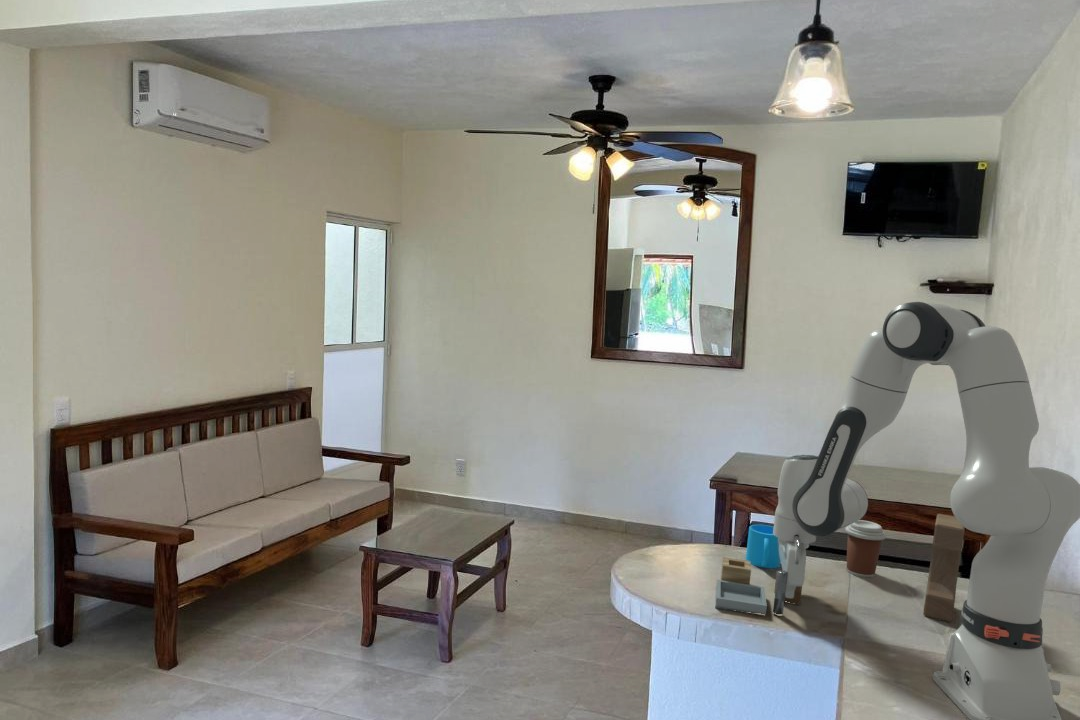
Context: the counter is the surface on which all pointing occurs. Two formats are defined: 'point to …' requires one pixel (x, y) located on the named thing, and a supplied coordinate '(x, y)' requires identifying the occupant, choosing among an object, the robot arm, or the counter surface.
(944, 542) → the decorative block
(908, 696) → the counter surface
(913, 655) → the counter surface
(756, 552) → the mug
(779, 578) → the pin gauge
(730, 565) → the block
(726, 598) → the tray
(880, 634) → the counter surface
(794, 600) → the block
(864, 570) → the coffee cup
